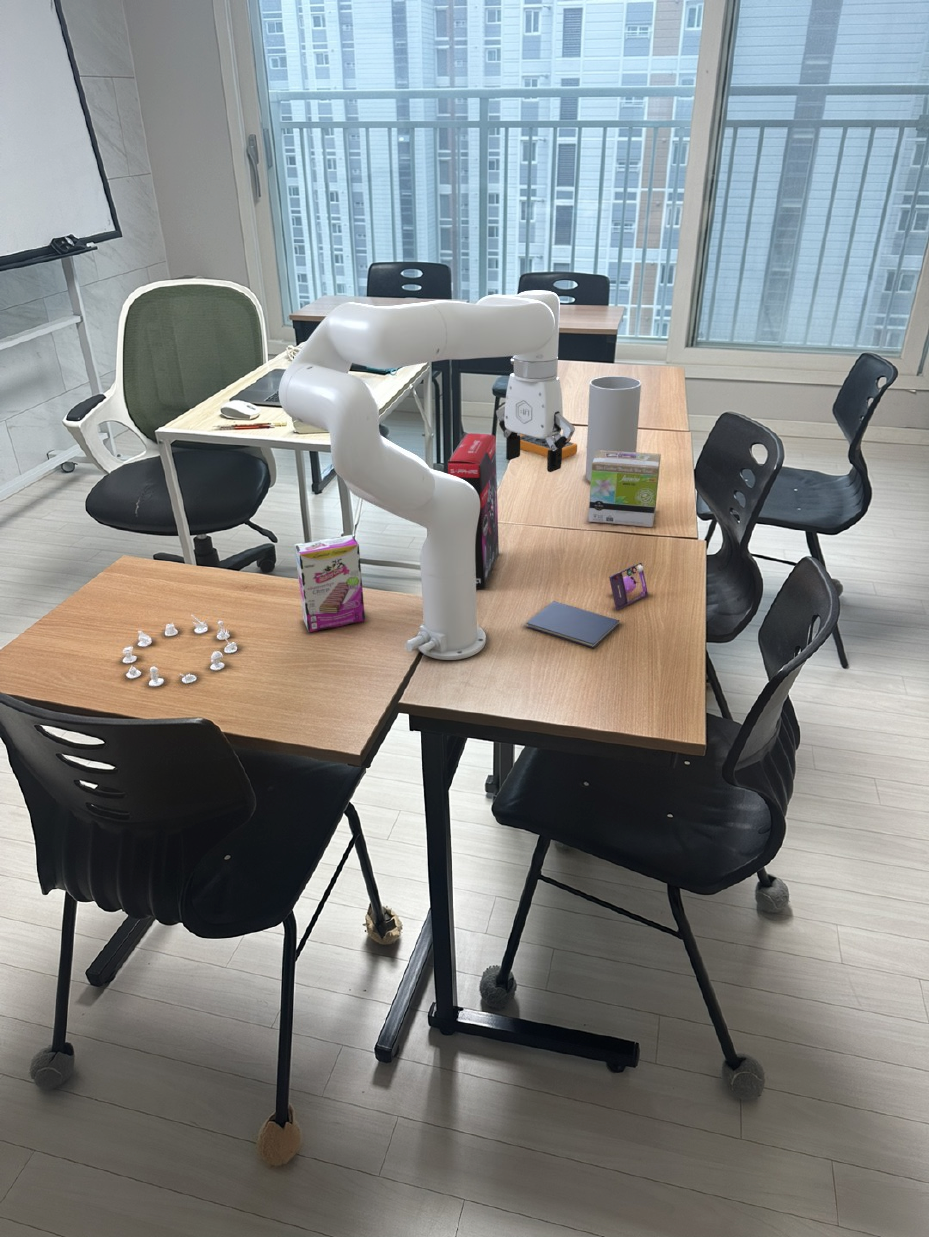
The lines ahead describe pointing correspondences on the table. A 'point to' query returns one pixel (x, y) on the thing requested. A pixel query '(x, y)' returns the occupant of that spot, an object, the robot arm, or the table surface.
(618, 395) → the cylinder vase
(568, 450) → the multimeter
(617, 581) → the purple toy package
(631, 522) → the tea box
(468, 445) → the graphics card box
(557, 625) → the notebook
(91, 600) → the table surface
